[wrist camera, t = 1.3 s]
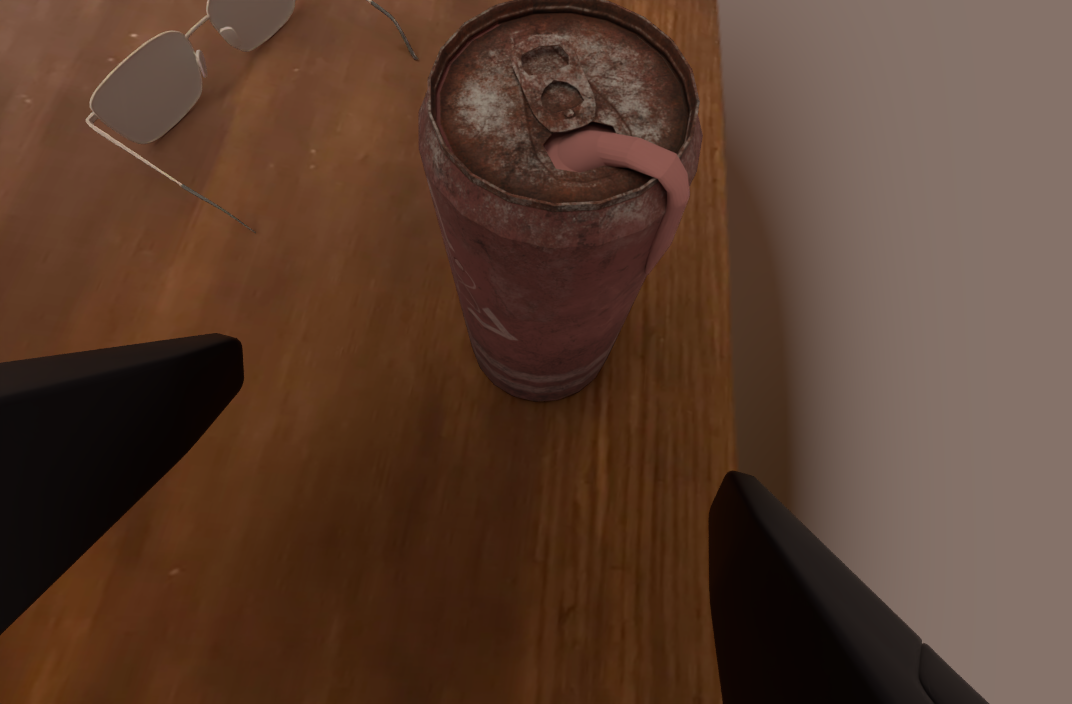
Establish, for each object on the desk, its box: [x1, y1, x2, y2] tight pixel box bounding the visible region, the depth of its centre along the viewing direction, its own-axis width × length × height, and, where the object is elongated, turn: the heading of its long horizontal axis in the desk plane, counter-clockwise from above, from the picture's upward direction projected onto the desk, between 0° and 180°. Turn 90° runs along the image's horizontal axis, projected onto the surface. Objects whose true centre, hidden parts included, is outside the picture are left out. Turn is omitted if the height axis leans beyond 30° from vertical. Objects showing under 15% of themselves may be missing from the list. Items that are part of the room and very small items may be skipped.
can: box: [419, 0, 703, 401], centre depth 17 cm, size 6×6×14 cm
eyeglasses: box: [86, 0, 418, 233], centre depth 26 cm, size 14×8×4 cm, turn 148°
